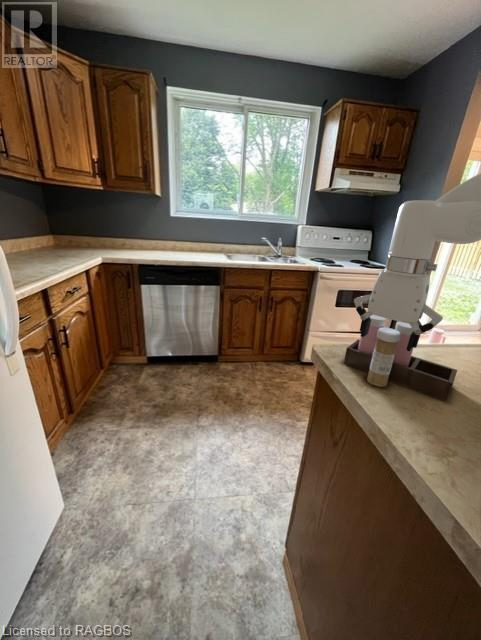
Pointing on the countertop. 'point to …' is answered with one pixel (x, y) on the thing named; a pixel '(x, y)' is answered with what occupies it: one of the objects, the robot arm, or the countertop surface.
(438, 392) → the spice rack
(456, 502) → the countertop surface
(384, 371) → the sprinkles bottle
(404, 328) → the pink bottle
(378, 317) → the pink bottle
